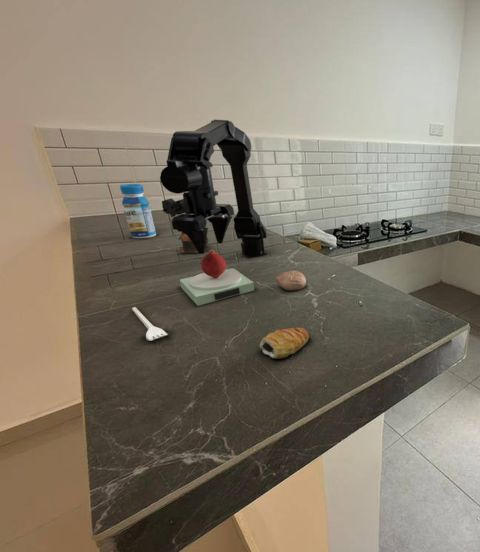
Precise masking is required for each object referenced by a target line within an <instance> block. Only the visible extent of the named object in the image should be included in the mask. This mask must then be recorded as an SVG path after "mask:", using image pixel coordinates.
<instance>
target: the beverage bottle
mask: <svg viewBox="0 0 480 552" xmlns="http://www.w3.org/2000/svg"><path fill="white" fill-rule="evenodd" d="M119 188H120V192H121V194H122V195H123V198H122V201H121V204H122V206H123V213H124V214H125V219H126V221H127V225H128V229H129V231H130V233H129V234H130V236H131V238H133V239H149V238H153V237H156V236H157V230H156V228H155V222H154V219H153V214H152V208H151V207H150V205H149V204H150V202H149V200H148V198H146V197H145V196H144V195H145V191H144V186H143V185H142V184H139V183H127V184H121V185H120V186H119Z"/></svg>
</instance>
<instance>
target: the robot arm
mask: <svg viewBox="0 0 480 552" xmlns="http://www.w3.org/2000/svg"><path fill="white" fill-rule="evenodd" d="M216 145H217V146H218V148H219V149H220V151H221V155H222V157H223V159H224V160H225V161H226V162H227V163H228V165H229V167H230V173H231V177H232V184H233V189H234V195H235V200H236V201H235V202H236V207H237V212H236V215H235V210H234V207H233V206H232V205H231V204H230V203H217V199H216V197H217V196H219V191H218V190H215V189H214V182H213V177H212V176H213V175H212V170H211V169H212V168H213V166H214V164H213V163H212V162H211V161H210V160H211V157H212V155H213V154H214V153H215V149H214V148H215V146H216ZM168 148H169V149H168V155H167V159H166V166H165V167H164V168H163V169H162V170H161V172H160V175H159V180H160V183H161V185H162V186H163V187H164V188H165V190H167V191H168V192H170V193H171V194H172V193H173V194H177V195H178V194H182V199H179V200H175V199H173V198H167V199H164V200H161V207H162V208H161V209H162V211H163V213H164V214H167V215H169V216H170V217H171V218H172V219H170V224H171V228H172V230H176V231H177V232H179V233H182V232H183V233H184V234H186V235H187V236H188V237H189V238H190V240H191V241H192V243H193V244H194V246H195V248H196V249H197V253H198V254H200V255H204V254H205V252H206V247H207V246H206V239H207V238H208V231H209V227H207V224H208V223H207V221H208V222H209V223H210V224H211V226H212V229H213V233H214V236H215V239H216V243H217V244H222V243H224V239H225V236H226V233H227V230H228V228H229V225H230V223H231V220H232V219H233V229H234V232H235V235H236V239H237V240H240V239H241V241H240V248H241V254H242V255H244V256H245V257H246V258H254V257H259V256H260V257H261V256H265V255H268V253H267V252H266V251H265V244H264V239H267V234H268V233H267V229H266V227H265V226H264V223H263V222H262V221H261V217H260V214H259V213H258V212H257V211H256V210H255V209H254V203H253V197H252V191H251V185H250V177H249V172H248V171H249V170H248V162H249V160H250V158H251V155H252V154H251V150H252V143H251V140H250V138H249V136H248V135H247V134H246V132H245V131H243V130H242V129H240V128H238V127H237V126H236V125H235V124H234V122H232V121H230V120H228V119H213V120H211V121H210V122H209V123H207V124H205V125H203V126H201V127H199V128H197V129H195V130H177V131H174V133H173V134H172V137H171V138H170V143H169V147H168ZM233 215H235V216H234V217H233Z"/></svg>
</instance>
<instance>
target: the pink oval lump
mask: <svg viewBox="0 0 480 552" xmlns="http://www.w3.org/2000/svg"><path fill="white" fill-rule="evenodd" d="M275 281H276V283H277V284H278V286H279V287H280V288H281V289H284V290H285V291H291V292H293V291H300V290H302V289H304V288H305V286H306V285H307V279H306V276H305V274H303V273H302V272H300V271H298V270H293V269H292V270H289V271H284V272H280V273H279V274H277V275H276V277H275Z"/></svg>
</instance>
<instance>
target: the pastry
mask: <svg viewBox="0 0 480 552" xmlns="http://www.w3.org/2000/svg"><path fill="white" fill-rule="evenodd" d="M309 336H310V335H309V332H308V331H307V330H306V329H305V328H303V327H289V328H282V329H275V330H274V332H269V333H267V335H266V336H265V337H263V338H262V340H261V341H260V343H259V349H260V350H261V351H262V353H263V354H264V355H267V356H269V357H270V358H272V359H284V358H288V357H289V356H290V355H294V354H295V353H297V352H298V351H299V350H300V349H301V348H303V347H305V345H306V343H307V342H308V341H309Z"/></svg>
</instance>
